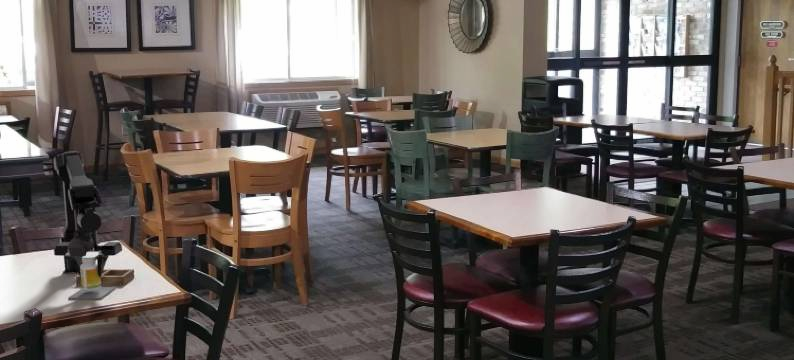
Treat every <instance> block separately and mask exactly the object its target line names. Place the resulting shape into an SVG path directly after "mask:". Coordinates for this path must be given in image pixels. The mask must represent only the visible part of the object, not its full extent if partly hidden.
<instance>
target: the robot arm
mask: <svg viewBox="0 0 794 360" xmlns="http://www.w3.org/2000/svg"><path fill="white" fill-rule="evenodd" d="M84 166H85V160H84V154H83V153H82V152H81V153H80V151H77V150H72V151H65V152H62V153H61V154H57V155H56V156H54V158H53V168H54V170H55V171H56V173H57V175H58V177H59V178H60V180H61V181H62V188H63V191H62V192H63V202H64V203H63V204H64V213H65V214H64V216H65V224H64V226H63V227H62V229H61V237H59V243H58V244H57V245H55V246H54V248H53V255H54V256H63V260H64V270H63V271H62V274H77V275H79V276H80V277H81V272H80V266H81V265H82V264H83V262H82V257H83V256H87V253H90V252H91V253H98V255H95V256H96V257H95V258H96V262H97V266H98V277H101V275H102V272H103V269H105V266H106V263H107V261H108V259H109V256H112V257H113V256H117V255H118V254H119V253H121V252H122V251H123V245H122V244H121V242H120V241H107V242H106V243H104V244H102V245H99V244H101V241H100V239H98V231H99V229H100V228H101V226H102V219H101V216H100V215H99V214H98V213H97V212H96V208H101V204H102V199H101V195H100V190H99V189H98V188H97V186H95V184H94V182H93V180H92V179H91V178H88V177H87V176H86V172H85V170H84Z"/></svg>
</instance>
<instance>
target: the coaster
mask: <svg viewBox="0 0 794 360" xmlns="http://www.w3.org/2000/svg"><path fill="white" fill-rule="evenodd" d="M115 290H116V286H114V287H112V286H111V287H109V286H107V287H106V286H104V287H102V286H101V287H100V288H99V289H96V290H83V289H82V288H80V289H79V290H78V291H76V292H74V293H73V294H72V295H69V296H68V298H67V299H68V300H85V299H100V300H103V299H104V298H105V297H107V296H108V295H109V294H111V293H112V292H114V291H115ZM100 300H99V301H100Z"/></svg>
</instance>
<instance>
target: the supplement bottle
mask: <svg viewBox="0 0 794 360" xmlns="http://www.w3.org/2000/svg"><path fill="white" fill-rule="evenodd" d="M96 256H97V255H94V254H89V255H87V254H86V256H83V257H82V262H83V264H82V265H81V266H80V272H81V282H82V285H81V289H83V290H96V289H99V288H100V287H102V285H101V279H100V277H98V266H97V259H96V258H95V257H96Z"/></svg>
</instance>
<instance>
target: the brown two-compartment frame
mask: <svg viewBox="0 0 794 360" xmlns="http://www.w3.org/2000/svg"><path fill="white" fill-rule="evenodd" d="M100 279H101V286H125V285H127V284H128V283H130V282H131V281H132V280H134V279H135V269H133V268H131V269H129V268H128V269H126V268H125V269H124V268H123V269H121V268H120V269H118V268H116V269H115V268H114V269H113V268H112V269H111V268H110V269H109V268H107V269H105V268H104V269H103V272H102V275H101V277H100ZM75 284H76V286H82V282H81V277H80V276H79V274H77V275H76V276H75Z"/></svg>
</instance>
